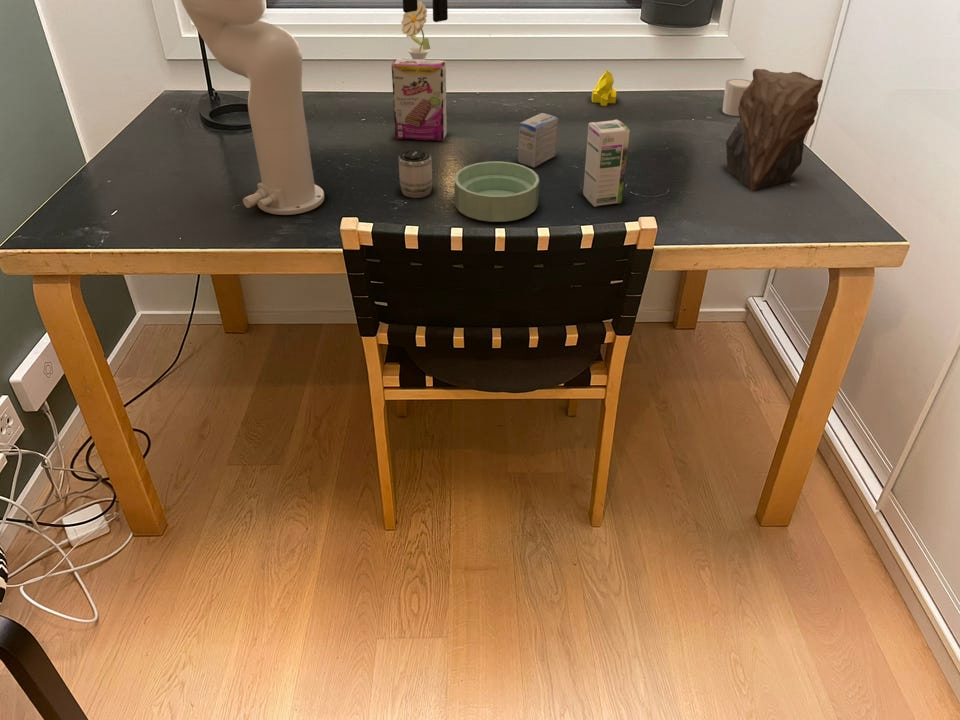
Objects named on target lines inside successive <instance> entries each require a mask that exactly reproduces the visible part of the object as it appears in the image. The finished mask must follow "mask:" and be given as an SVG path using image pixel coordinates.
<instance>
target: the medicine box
mask: <svg viewBox="0 0 960 720" xmlns="http://www.w3.org/2000/svg"><path fill="white" fill-rule="evenodd" d="M558 128H559V118H558V117H557V116H554V115H551V114H548V113H544V112H541V113H538V114H537V115H534V116H531V117H530V118H528V119H525V120H523V121H522V122H519V130H518V150H517V151H518V154H517V162H518V164H520V165H523V166H526V167H527V166H528V167H530V168H536V167H538V166H539V165H542V164H544V163H545V162H547V161H549V160H551V159H552V158H555V157H556V154H557V144H558V143H557V141H558Z"/></svg>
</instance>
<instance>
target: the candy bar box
mask: <svg viewBox="0 0 960 720" xmlns="http://www.w3.org/2000/svg"><path fill="white" fill-rule="evenodd" d="M391 80H392V81H391V82H392V98H393V100H392V101H393V117H394V118H393V119H394V133H395V134H394V135H395V139H396V140H412V141H434V142H435V141H436V142H444V141H445V138H446V136H447V133H448V131H447V130H448V125H447V63H446V60H437V59H425V60H419V59H412V58H399V57H398V58H394V60H393V62H392V63H391Z"/></svg>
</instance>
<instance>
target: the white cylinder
mask: <svg viewBox="0 0 960 720" xmlns="http://www.w3.org/2000/svg"><path fill="white" fill-rule="evenodd" d="M751 82H752V80H748V79H743V78H731V79H727V80H726V81H725V85H724V94H723V102H722V112H723V113H724V114H725V115H727V116H731V117H732V116H733V117H740V116H739V111H738V107H739V105H740V99H741V97H742V95H743V91H745V90H746V89H747V88H748V86H749V85H750V83H751Z"/></svg>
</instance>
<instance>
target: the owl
mask: <svg viewBox="0 0 960 720" xmlns="http://www.w3.org/2000/svg"><path fill="white" fill-rule="evenodd" d="M751 81H752V82H751V83H750V85H749V86H748V88H747V89H746V90H745V91H743V95H742V97H741V99H740V105H739V107H738V111H739V116H738V117H739V121H738V122H736V125H735V126H734V127H733V130H732V132H731V133H730V135H729V136H728V138H727V140H726V141H725V149H726V168H725V170H726V171H727V173H729V174H731V175H732V176H733V178H736V179H737V180H738V181H740V184H741V185H743V186H744V187H747V189H749V190H751V191H752V192H755V191H757V190H761V189H764V188H765V189H766V188H769V187H771V186H778V185H780V184H781V183H782V184H783V183H788V182H790V181H791V180H792V175H793V174H794V173H795V172H796V170H797V169H798V168H799V167H801V164H802V162H803V152H804V146H805V145H804V143H805V139H806V136H807V135H808V132H809V130H810V129H811V128H812V127H813V125H814V123H815V118H816V117H817V114H818V110H819V101H818V100H819V99H818V96H819V93H820V92H821V90H822V88H823V84H824V79H815V78H813V77H810V76H808V75H806V74H805V73H802V72H798V71H792V72H783V71H778V72H777V71H770V70H768V69H765V68H755V69H753V70H752V80H751Z"/></svg>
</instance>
